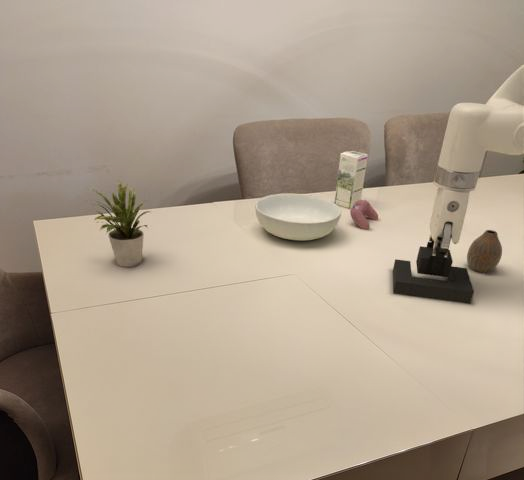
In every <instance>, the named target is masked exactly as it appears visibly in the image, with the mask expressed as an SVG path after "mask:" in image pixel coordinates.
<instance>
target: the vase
mask: <svg viewBox="0 0 524 480" xmlns="http://www.w3.org/2000/svg"><path fill="white" fill-rule="evenodd" d="M502 255H503V246H502V243H501V241H500V239H499V236H498V232H497V231H496V230H492V229H486V230H485V231H484V232H483V233H482V234H481V235H480V236H478V237H477V238H475V239H474V240H473V241H472V243H471V244H470V246H469V247H468V250H467V254H466V262H467V263H466V264H468V267H469V269H471V270H473V271H475V272H476V273H477V272H478V273H485V274H486V273H489V272H492V271H493V270H494V269H496V268H497V266H498V265H499V263H500V261H501V259H502Z"/></svg>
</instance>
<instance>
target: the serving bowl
mask: <svg viewBox="0 0 524 480" xmlns="http://www.w3.org/2000/svg"><path fill="white" fill-rule="evenodd" d="M254 208H255V209H254V210H255V216H256V218H257V221H258V223H259V224H260V225H261V227H262V228H263V229H264V230H265V231H267V233H269V234H271V235H273V236H275V237H278V238H282V239H285V240H290V241H312V240H317V239H321V238H323V237H326V236H327V235H329V234H330V233H332V232H333V231H334V230H335V228H336V227H337V226H338V224H339V222H340V219H341V216H342V209H341V208H340V206H339V205H336V204H335V202H333V201H331V200H330V199H326V198H323V197H320V196H315V195H311V194H306V193H305V194H304V193H276V194H270V195H266V196H263V197H260V198H259V199H257V201H256V202H255V205H254Z"/></svg>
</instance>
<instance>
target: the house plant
mask: <svg viewBox="0 0 524 480" xmlns="http://www.w3.org/2000/svg"><path fill="white" fill-rule="evenodd" d="M117 187H118V189H117V190H118V193H117V194H118V197H117V195H116V194H115V193H114V192H112V193H111V196H112V200H113V203H114V204H111V202H110V200H109V199H108V198H107V197H106V196H105V195H103V194H102V193H101V192H99V191H98V190H95V189H91V188H88V191H93V192H95V193H96V194H97V195H99V196H100V197H101V198H102V199H103V200H104V201H105V203H106V204H107V205H106V204H104V203H102V202H99V201H97V200H91V202H92V203H93V202H94V203H93V204H92V203H91V206H94V205H97V206H99V207H101V208H103V209H104V211H106V213H108V215H105V214H103V213H102V212H101V211H98V210H95V209H92V211H93V212H96V213H98V214H99V215H98V216H97V217H94V219H93V221H96V220H105V221H106V222H105V221H102V223H104V224H102V225H101V226H100V229H99V231H101V230H103V229H105V228H106V233H107V234H108V235H107V236H108V238H109V243H110V245H111V249H112V251H113V255H114V256H113V257H114V259H115V262H116V264H117V265H118V266H120V267H122V268H123V267H124V268H132V267H136V266H138V265H140V264H141V262H142V261H143V248H144V235H145V234H144V231H143V230H141V229H140V228H142V227H145V228H148V225H147V224H144V225H139V224H140V220H139V219H140V218H141V217H142V216H143V215H145V214H147V213H151V211H150V210H147V211H144V212H142V213H141V214H139V215H138V213H139V211H140V209H141V207H142V206H143V205H144V203H148V202H149V201H146V200H147V199H148V197H146V198H145V199H144V200H143V202H142V203H140V204H139V205H138V206H137V207H136V208H135V204H136V199H137V198H136V197H137V196H136V189H135V188H134V190H133V191H132V187H131V186H129V191H128V201H127V206H126V199H127V198H126V197H127V188H128V184H126V185H124V186H123V185H122V182H121V181H120V180H118V186H117ZM85 190H87V188H85ZM84 202H87V200H86V201H84ZM97 203H99V204H97ZM111 212H112V214H113V215H114V216H113V215H112V214H111ZM95 223H98V221H96V222H95Z"/></svg>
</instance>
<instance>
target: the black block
mask: <svg viewBox="0 0 524 480" xmlns="http://www.w3.org/2000/svg"><path fill="white" fill-rule="evenodd" d="M432 251H433V248H429V247H427V246H419V248H418V253H417V256H416V261H415V263H416V272H417V275H426V276H430V275H429V274H426V269H427V265H428V261H429V257H430V254H432ZM453 263H454V262H453V258H452V254H451V250H450V249H449V250H448V255H447V260H446V264H445V267H444V271H443V275H442V276H439V277H441V278H447V279H448V276H449V273H450V269H451V266H453ZM432 276H433V277H438V276H437V275H431V277H432Z"/></svg>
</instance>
